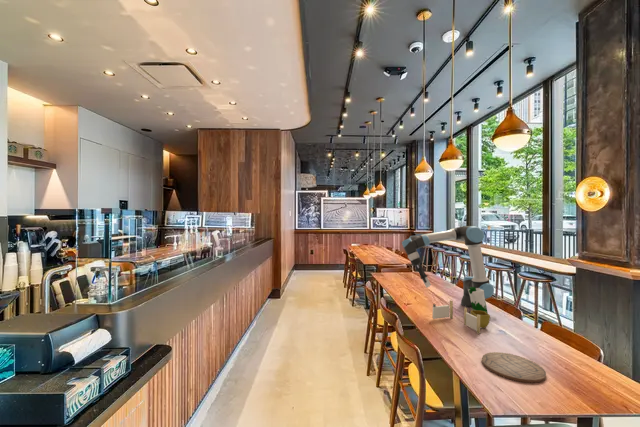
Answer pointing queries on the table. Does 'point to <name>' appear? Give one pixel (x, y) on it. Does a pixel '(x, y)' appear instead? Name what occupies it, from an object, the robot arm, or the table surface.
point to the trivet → (514, 367)
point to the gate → (440, 311)
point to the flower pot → (482, 318)
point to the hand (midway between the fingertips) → (428, 286)
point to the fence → (468, 319)
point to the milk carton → (477, 299)
